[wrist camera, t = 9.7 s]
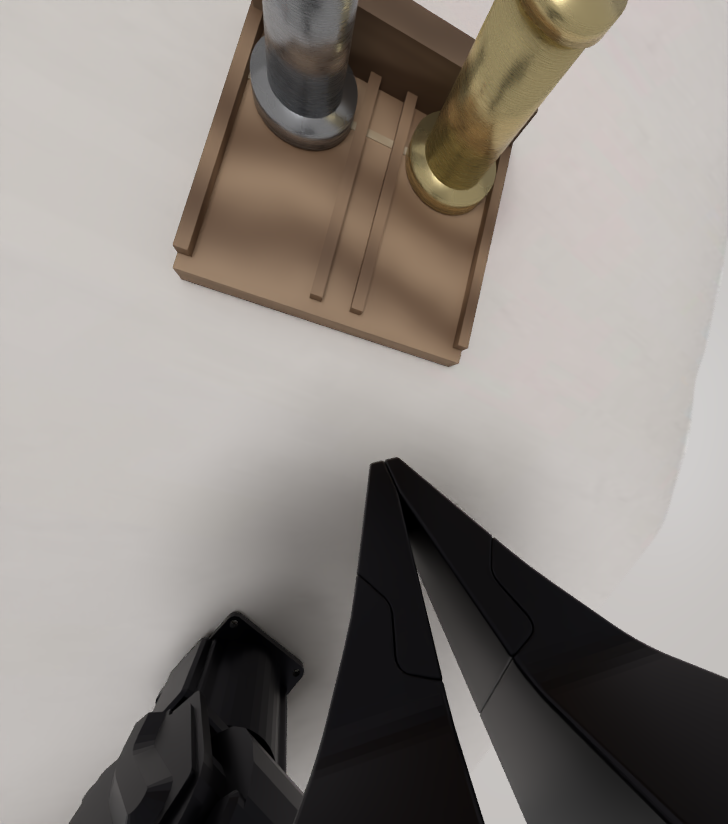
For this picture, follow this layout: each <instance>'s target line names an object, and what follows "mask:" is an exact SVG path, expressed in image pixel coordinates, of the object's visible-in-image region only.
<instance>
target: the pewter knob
mask: <svg viewBox="0 0 728 824" xmlns="http://www.w3.org/2000/svg"><path fill="white" fill-rule="evenodd" d="M262 4H263V20H264V36H263V37H262V38H261V39H260V40H259V41H258V42H257V44H256V45H255V47H254V49H253V51H252V54H251V58H250V77H251V85H252V94H253V99H254V103H255V106H256V109H257V111H258V113H259V115H260V116H261V118H262V120H263V121H264V122H265V124H266V125H267V126H268V127H269V128H270V129H271V130H272V132H273V133H275V134H276V135H277V136H278V137H280V138H281V139H283V140H284V141H285V142H287V143H289V144H291V145H293V146H296V147H299V148H302V149H307V150H325V149H329V148H332V147H334V146H336V145H337V144H339V143H340V142H342V141H343V140H344V139H345V138H346V136H347V135H348V133H349V132H350V130H351V127H352V124H353V120H354V115H355V110H356V105H357V99H358V91H357V84H356V80H355V77H354V74H353V72H352V70H351V68H350V66H349V64H348V60H349V54H350V48H351V42H352V36H353V30H354V24H355V18H356V12H357V6H358V0H262Z"/></svg>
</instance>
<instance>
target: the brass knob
mask: <svg viewBox="0 0 728 824" xmlns="http://www.w3.org/2000/svg"><path fill="white" fill-rule="evenodd" d="M627 1H628V0H495V1H494V3H493V5H492V7H491V9H490V11H489V13H488V15H487V17H486V19H485V21H484V23H483V25H482V27H481V29H480V31H479V34H478V36H477V38H476V40H475V42H474V44H473V46H472V48H471V50H470V52H469V54H468V56H467V58H466V60H465V62H464V64H463V66H462V68H461V70H460V72H459V74H458V77H457V79H456V81H455V83H454V85H453V87H452V89H451V91H450V93H449V95H448V97H447V99H446V101H445V103H444V105H443V107H442V109H441V111H437V112H433V113H431V114H429V115H427V116H426V117H424V118H423V119H422V120H421V121H420V123H419V124H418V125H417V127H416V129H415V131H414V134H413V136H412V138H411V141H410V143H409V145H408V148H407V152H406V160H405V164H406V171H407V175H408V179H409V181H410V183H411V186H412V187H413V189H414V191H415V192H416V194H417V195H418V196H419V197H420V199H421V200H422V201H423V202H424V203H426V204H427V205H428V206H429V207H431V208H432V209H434V210H436V211H438V212H441V213H444V214H448V215H460V214H464V213H467V212H469V211H471V210H472V209H474V208H475V207H476V206H477V205H478V204H479V202H480V201H481V200H482V199H483V198H484V197H485V196H486V194H487V193H488V192H489V191H490V189H491V187H492V185H493V183H494V180H495V175H496V160H497V159H498V158H499V156H500V155H501V154H502V153H503V151H504V150H505V149H506V147H507V146H508V145H509V144H510V142H511V141H512V140H513V139H514V137H515V136H516V135H517V134H518V132H519V131H520V130H521V129H522V127H523V126H524V125H525V124H526V122H527V121H528V120H529V118H530V117H531V116H532V115H533V113H534V112H535V111H536V110H537V108H538V107H539V106H540V105H541V103H542V102H543V101H544V100H545V98H546V97H547V96H548V95H549V93H550V92H551V91H552V90H553V88H554V87H555V86H556V84H557V83H558V82H559V81H560V79H561V78H562V77H563V76H564V74H565V73H566V72H567V71H568V69H569V68H570V67H571V66H572V64H573V63H574V62H575V61H576V59H577V58H578V57H579V56H580V54H581V53H582V52H583V50H584V49H585V48H588V47H591V46H593V45H595V44H596V43H597V42H599V41H600V40H601V38H602V37H603V36H604V35H605V34H606V32H607V31H608V30H609V29H610V28H611V26H612V25H613V24H614V23H615V21H616V20H617V19H618V18H619V16H620V15H621V14H622V12H623V11H624V9H625V7H626V4H627Z"/></svg>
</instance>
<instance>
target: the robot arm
mask: <svg viewBox="0 0 728 824" xmlns="http://www.w3.org/2000/svg"><path fill="white" fill-rule="evenodd" d="M416 568H417V569H416ZM417 570H418V573H419V575H420V577H421V580H422V582H423V584H424V587H425V589H426V591H427V594H428V596H429V598H430V601H431V603H432V605H433V607H434V610H435V612H436V614H437V617H438V619H439V621H440V624H441V626H442V628H443V631H444V633H445V635H446V637H447V640H448V642H449V644H450V647H451V649H452V651H453V654H454V656H455V658H456V661H457V663H458V665H459V668H460V670H461V672H462V674H463V677H464V679H465V681H466V684H467V686H468V688H469V691H470V693H471V695H472V698H473V700H474V702H475V704H476V707H477V709H478V711H479V713H480V716H481V719H482V721H483V723H484V726H485V728H486V730H487V732H488V735H489V737H490V739H491V742H492V744H493V746H494V749H495V751H496V753H497V755H498V758H499V760H500V762H501V765H502V767H503V769H504V772H505V774H506V776H507V779H508V781H509V783H510V785H511V788H512V790H513V792H514V795H515V797H516V799H517V802H518V804H519V806H520V809H521V811H522V813H523V815H524V818H525V820H526V822H527V824H728V679H727V678H725V677H722V676H720V675H717V674H715V673H713V672H710V671H707V670H705V669H702V668H700V667H698V666H695V665H692V664H690V663H687V662H685V661H682V660H680V659H677V658H675V657H672V656H670V655H668V654H665V653H663V652H661V651H659V650H656V649H654V648H652V647H650V646H648V645H646V644H644V643H643V642H641V641H639V640H637V639H635V638H634V637H632V636H630V635H629V634H627V633H625V632H624V631H622V630H621V629H619V628H618V627H616V626H614V625H613V624H612V623H610V622H609V621H607V620H606V619H604V618H603V617H601V616H600V615H599V614H597V613H596V612H594V611H593V610H591V609H590V608H589V607H587V606H586V605H584V604H583V603H581V602H580V601H578V600H577V599H576V598H574V597H573V596H571V595H570V594H568V593H567V592H566V591H564V590H563V589H561V588H560V587H558V586H557V585H555V584H554V583H553V582H551V581H550V580H548V579H547V578H546V577H544V576H543V575H541V574H540V573H539V572H537V571H536V570H535V569H533V568H532V567H530V566H529V565H528V564H526V563H525V562H524V561H523V560H521V559H520V558H519V557H518V556H516V555H515V554H514V553H513V552H511V551H510V550H509V549H508V548H506V547H505V546H504V545H503V544H502V543H500V542H499V541H498V540H497V539H496V538H492V535H491V534H489V533H488V532H487V531H486V530H485V529H483V528H482V527H481V526H480V525H479V524H477V523H476V522H475V521H474V520H473V519H472V518H470V517H469V516H468V515H467V514H466V513H464V512H463V511H462V510H461V509H460V508H458V507H457V506H456V505H455V504H454V503H452V502H451V501H450V500H449V499H448V498H446V497H445V496H444V495H443V494H442V493H440V492H439V491H438V490H437V489H436V488H434V487H433V486H432V485H431V484H430V483H428V482H427V481H426V480H425V479H424V478H422V477H421V476H420V475H419V474H418V473H416V472H415V471H414V470H413V469H412V468H410V467H409V466H408V465H407V464H406V463H404V462H403V461H402V460H401V459H400V458H398V457H395V458H391V459H386V460H385V462H384V461H378V462H374V463H371V464H370V469H369V477H368V485H367V494H366V502H365V510H364V519H363V527H362V535H361V544H360V552H359V560H358V569H357V575H358V576H357V577H356V584H355V592H354V599H353V605H352V612H351V618H350V623H349V627H348V632H347V637H346V642H345V646H344V651H343V655H342V659H341V663H340V667H339V671H338V675H337V680H336V684H335V688H334V692H333V696H332V700H331V704H330V709H329V713H328V717H327V721H326V725H325V729H324V732H323V736H322V740H321V743H320V747H319V750H318V754H317V757H316V760H315V763H314V767H313V770H312V773H311V776H310V779H309V781H308V784H307V787H306V790H305V792H304V793H303V792H302V791H301V790H300V789H299V788H298V787H297V785H296V784H295V783H294V782H293V781H292V780H291V779H290V778H289V776H288V775H287V774H286V737H287V695H288V693H289V692H290V691H291V690H292V688H293V687H294V686H295V685H296V684H297V682H298V681H299V680H300V679H301V677H302V676H303V673H304V666H303V663H302V662H301V661H300V660H298V659H297V658H296V657H295V656H293V655H292V654H291V653H290V652H288V651H287V650H286V649H285V648H283V647H282V646H281V645H280V644H278V643H277V642H276V641H275V640H273V639H272V638H271V637H269V636H268V635H267V634H266V633H264V632H263V631H262V630H261V629H259V628H258V627H257V626H256V625H254V624H253V623H252V622H251V621H249V620H248V619H247V618H246V617H244V616H243V615H242V614H240V613H238V612H234V613H232V614H230V615H229V616H228V617H227V618H226V619H225V620H224V622H223V623H222V624H221V625H220V626H219V627H218V628H217V629H216V630H215V631H214V633H213V634H212V635H211V636H210V637H209V638H208V637H206V638H202V639H201V640H200V641H199V642H198V643H197V644H196V645H195V646H194V648H193V649H192V650H191V651H190V652H189V653H188V654H187V655H186V656H185V657H184V658H183V660H182V661H181V662H180V663H179V664H178V665H177V666H176V667H175V668H174V669H173V671H172V672H171V674H170V676H169V678H168V680H167V682H166V684H165V686H164V688H163V689H162V690H161V691H160V693H159V694H158V697H157V699H156V706H155V708H154V710H153V712H149V713H148V714H147V715H145V716H144V717H143V718H142V719H141V720H139V721H138V722H137V723H136V724H135V726H134V728H133V730H132V732H131V734H130V736H129V738H128V740H127V742H126V744H125V746H124V748H123V750H122V752H121V754H120V757H119V759H117V760H116V761H115V762H114V763H113V764H112V765H110V766H109V767H108V768H107V769H106V770H105V771H104V772H103V773H102V774H101V776H100V777H99V779H98V780H97V782H96V783H95V784H94V785H93V786H92V787H91V788H90V789H89V791H88V792H87V793H86V795H85V796H84V798H83V800H82V804H81V806H80V807H79V809H78V810H77V812H76V813H75V815H74V816H73V818H72V819H71V821H70V822H69V824H485V823H484V820H483V817H482V814H481V810H480V807H479V804H478V801H477V798H476V794H475V791H474V788H473V785H472V781H471V778H470V775H469V772H468V768H467V765H466V762H465V759H464V755H463V752H462V749H461V746H460V743H459V739H458V736H457V733H456V729H455V726H454V722H453V718H452V715H451V711H450V707H449V704H448V700H447V696H446V692H445V687H444V684H443V682H442V675H441V670H440V666H439V662H438V658H437V654H436V649H435V645H434V641H433V637H432V632H431V628H430V624H429V620H428V616H427V611H426V607H425V603H424V599H423V594H422V590H421V586H420V582H419V578H418V573H417ZM232 620H237V621H238V623H236V624H232V623H231V621H232ZM295 669H299V671H297V672H293V671H294V670H295Z"/></svg>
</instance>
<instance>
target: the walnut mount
mask: <svg viewBox="0 0 728 824" xmlns="http://www.w3.org/2000/svg"><path fill="white" fill-rule="evenodd" d="M263 36H264V20H263V4H262V0H252V1H251V4H250V7H249V10H248V14H247V17H246V20H245V23H244V26H243V29H242V32H241V35H240V38H239V41H238V44H237V47H236V51H235V54H234V57H233V60H232V63H231V66H230V69H229V72H228V75H227V78H226V81H225V85H224V88H223V91H222V94H221V97H220V100H219V103H218V106H217V109H216V112H215V115H214V119H213V122H212V125H211V128H210V131H209V134H208V137H207V140H206V143H205V146H204V149H203V153H202V156H201V159H200V162H199V165H198V168H197V171H196V174H195V177H194V180H193V183H192V187H191V190H190V193H189V196H188V199H187V202H186V205H185V208H184V211H183V214H182V217H181V221H180V224H179V227H178V230H177V233H176V236H175V239H174V242H173V246H174V248H175V249H176V251H177V252H178V253H177V256H176V259H175V262H174V265H173V269H174V270H175V271H176V273H177V274H178V275H179V276H180V278H181V279H183V280H186V281H189V282H192V283H195V284H198V285H202V286H205V287H208V288H211V289H214V290H217V291H220V292H223V293H226V294H229V295H232V296H235V297H238V298H241V299H244V300H247V301H250V302H253V303H256V304H259V305H262V306H265V307H268V308H271V309H275V310H278V311H281V312H284V313H287V314H290V315H293V316H296V317H299V318H302V319H305V320H308V321H311V322H314V323H317V324H320V325H323V326H326V327H329V328H332V329H335V330H338V331H341V332H344V333H348V334H351V335H354V336H357V337H360V338H363V339H366V340H369V341H372V342H375V343H378V344H381V345H384V346H387V347H390V348H393V349H396V350H399V351H402V352H405V353H408V354H411V355H414V356H417V357H420V358H424V359H427V360H430V361H433V362H436V363H439V364H442V365H445V366H448V367H449V366H452V365H455V364H458V363H459V360H460V356H461V351H462V350H465V349H467V348H468V345H469V340H470V336H471V331H472V326H473V322H474V317H475V313H476V308H477V304H478V299H479V295H480V290H481V286H482V281H483V276H484V272H485V267H486V263H487V258H488V254H489V249H490V245H491V240H492V235H493V231H494V226H495V222H496V217H497V213H498V208H499V204H500V199H501V195H502V190H503V185H504V181H505V176H506V172H507V167H508V163H509V158H510V154H511V149H512V145H513V142H514V141H515V139H516V138H517V137H518V136H519V134H520V133H521V132H522V131H523V129H524V128H525V127H526V126H527V125H528V123H529V122H530V121H531V120H532V118H533V117H534V116H535V115H536V113H537V111H538V108H537V110H536V111H535V112H534V113H533V115H532V116H531V117H530V118H529V120H528V121H527V122H526V124H525V125H524V126H523V127H522V129H521V130H520V131H519V132H518V134H517V135H516V136H515V137H514V139H513V140H512V141H511V142H510V144H509V145H508V146H507V147H506V149H505V150H504V151H503V153H502V154H501V155H500V156H499V158H498V159H497V160H496V175H495V180H494V183H493V185H492V187H491V189H490V191H489V192H488V193H487V194H486V196H485V197H484V198H483V199H482V200H481V201H480V202H479V204H478V205H477V206H476V207H475V208H474V209H472V210H471V211H469V212H467V213H464V214H460V215H448V214H444V213H441V212H438V211H436V210H434V209H432V208H431V207H429V206H428V205H427V204H426V203H424V202H423V201H422V200H421V199H420V197H419V196H418V195H417V194H416V192H415V191H414V189H413V187H412V186H411V183H410V181H409V179H408V175H407V171H406V164H405V160H406V152H407V148H408V145H409V143H410V141H411V138H412V136H413V134H414V131H415V129H416V127H417V125H418V124H419V123H420V121H421V120H422V119H423V118H424V117H426V116H427V115H429V114H431V113H433V112H437V111H441V109H442V107H443V105H444V103H445V101H446V99H447V97H448V95H449V93H450V91H451V89H452V87H453V85H454V83H455V81H456V79H457V77H458V74H459V72H460V70H461V68H462V66H463V64H464V62H465V60H466V58H467V56H468V54H469V52H470V50H471V48H472V46H473V44H474V42H475V39H473V38H472V37H470V36H469V35H467V34H465V33H464V32H462V31H461V30H459V29H457V28H456V27H454V26H453V25H451V24H449V23H448V22H446V21H445V20H443V19H441V18H440V17H438V16H437V15H435V14H433V13H432V12H430V11H429V10H427V9H426V8H424V7H422V6H421V5H419V4H418V3H416V2H414V1H413V0H358V6H357V12H356V18H355V24H354V30H353V36H352V42H351V48H350V54H349V60H348V64H349V66H350V68H351V70H352V72H353V74H354V77H355V80H356V84H357V91H358V99H357V105H356V110H355V115H354V120H353V124H352V127H351V130H350V132H349V133H348V135H347V136H346V138H345V139H344V140H343V141H342V142H340V143H339V144H337V145H336V146H334V147H332V148H329V149H325V150H307V149H302V148H299V147H296V146H293V145H291V144H289V143H287V142H285V141H284V140H283V139H281V138H280V137H278V136H277V135H276V134H275V133H273V132H272V130H271V129H270V128H269V127H268V126H267V125H266V124H265V122H264V121H263V120H262V118H261V116H260V115H259V113H258V111H257V109H256V106H255V103H254V99H253V94H252V85H251V77H250V58H251V54H252V51H253V49H254V47H255V45H256V44H257V42H258V41H259V40H260V39H261V38H262V37H263Z"/></svg>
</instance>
